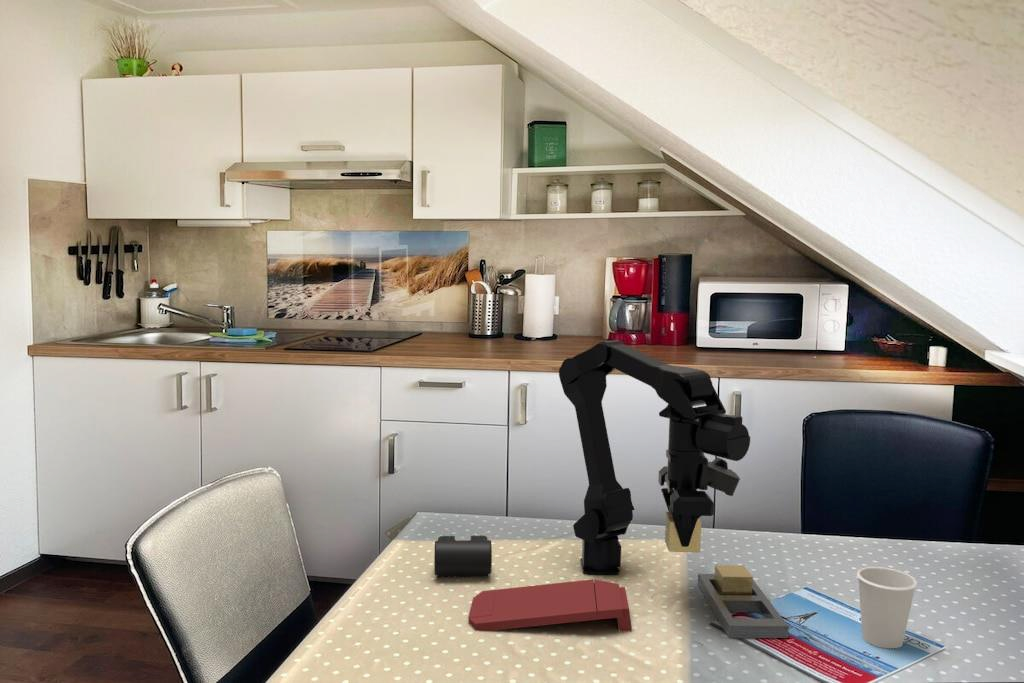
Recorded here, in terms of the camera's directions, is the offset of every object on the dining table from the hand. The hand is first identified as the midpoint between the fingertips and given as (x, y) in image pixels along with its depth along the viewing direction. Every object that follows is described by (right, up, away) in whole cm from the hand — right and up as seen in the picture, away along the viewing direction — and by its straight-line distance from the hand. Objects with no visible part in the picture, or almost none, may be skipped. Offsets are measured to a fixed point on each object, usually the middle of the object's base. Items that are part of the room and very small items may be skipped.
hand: (682, 540), depth 136 cm
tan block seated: (+9, -11, +4) cm, 15 cm away
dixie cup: (+28, -13, -10) cm, 33 cm away
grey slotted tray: (+9, -11, 0) cm, 15 cm away
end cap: (-37, -9, +12) cm, 40 cm away
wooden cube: (0, -1, 0) cm, 1 cm away
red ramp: (-22, -12, -4) cm, 25 cm away
